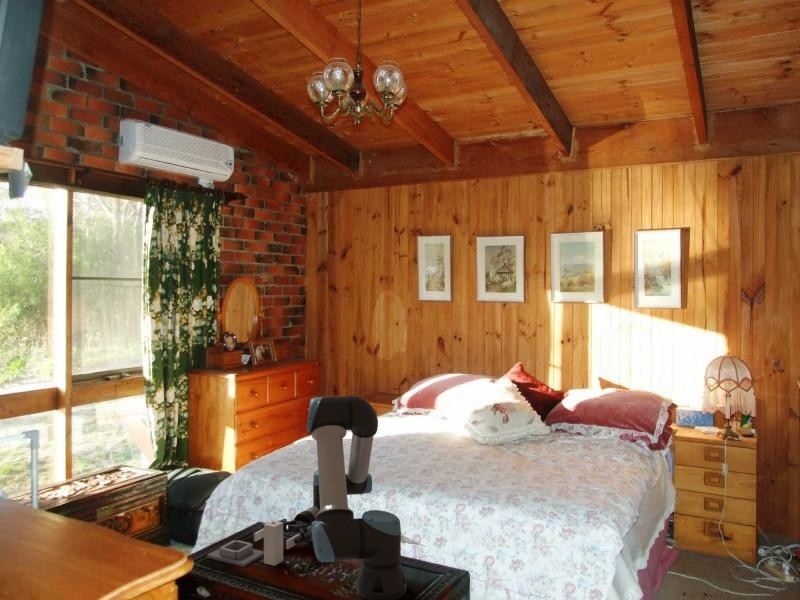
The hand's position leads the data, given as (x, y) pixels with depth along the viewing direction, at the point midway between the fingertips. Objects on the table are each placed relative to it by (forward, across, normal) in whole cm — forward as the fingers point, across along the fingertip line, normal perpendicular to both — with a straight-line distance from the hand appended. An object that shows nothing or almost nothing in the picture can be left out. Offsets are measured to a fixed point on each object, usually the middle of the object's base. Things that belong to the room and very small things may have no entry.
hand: (270, 541), depth 213 cm
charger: (-1, 0, -7) cm, 8 cm away
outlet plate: (+1, +14, -7) cm, 16 cm away
